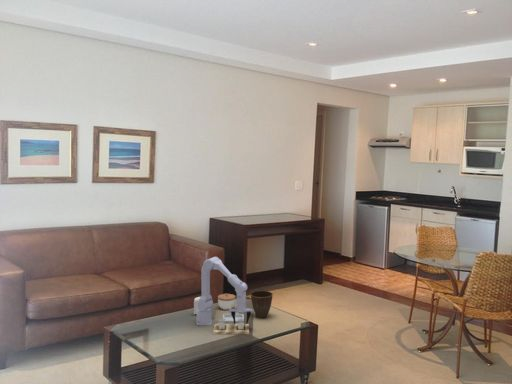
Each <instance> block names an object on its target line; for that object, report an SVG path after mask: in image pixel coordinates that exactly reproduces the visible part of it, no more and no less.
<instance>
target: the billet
mask: <svg viewBox="0 0 512 384" xmlns="http://www.w3.org/2000/svg"><path fill="white" fill-rule="evenodd" d="M218 324H219V327H218V330H226V327H225V319H223V318H218Z"/></svg>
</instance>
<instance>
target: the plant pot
mask: <svg viewBox="0 0 512 384" xmlns="http://www.w3.org/2000/svg"><path fill="white" fill-rule="evenodd" d="M273 296H274V294H273V292H270V291H267V290H256V291H253V292H251V293H250V301H251V304H252V309H253V313H254V315H255V317H256V318H258V319H267V318H268V315H269V313H270V310H271V306H272V301H273Z"/></svg>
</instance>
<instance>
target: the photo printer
mask: <svg viewBox="0 0 512 384" xmlns="http://www.w3.org/2000/svg"><path fill="white" fill-rule="evenodd" d="M200 297H201V296H198V297H195V298H194V299H193V300H194V301H193V315H194V314H197V310H199V308H198V303H199V299H200Z"/></svg>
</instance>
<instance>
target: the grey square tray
mask: <svg viewBox="0 0 512 384" xmlns="http://www.w3.org/2000/svg"><path fill="white" fill-rule="evenodd" d="M222 319H225V324H234V320H233V317H232V315H231V313H223V314H222ZM238 319H244V320H245V314H244V313H235V324H238Z"/></svg>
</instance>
